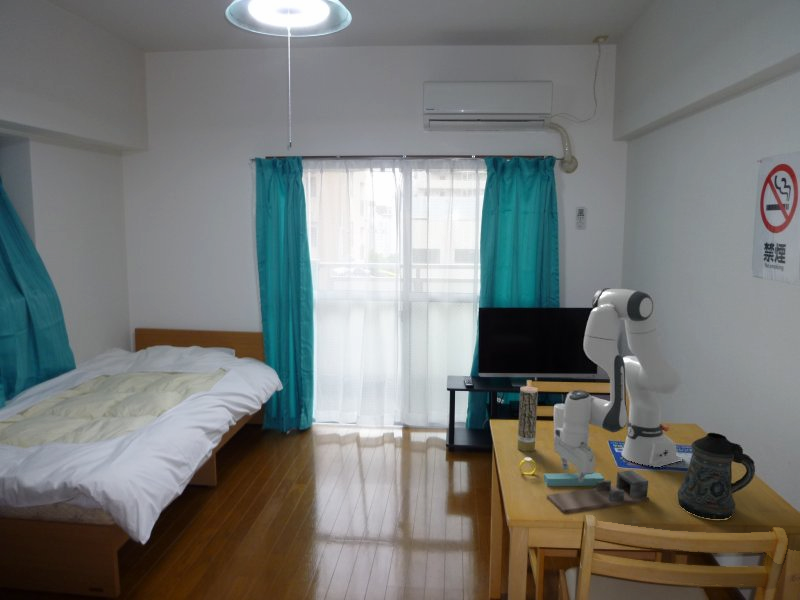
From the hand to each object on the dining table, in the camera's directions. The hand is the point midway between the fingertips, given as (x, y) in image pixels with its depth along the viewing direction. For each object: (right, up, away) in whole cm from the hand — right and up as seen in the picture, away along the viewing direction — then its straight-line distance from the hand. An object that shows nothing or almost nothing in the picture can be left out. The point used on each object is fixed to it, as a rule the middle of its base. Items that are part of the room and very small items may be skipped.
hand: (572, 474), depth 197 cm
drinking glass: (+6, +3, +37) cm, 38 cm away
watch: (-14, -2, +7) cm, 16 cm away
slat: (+1, -3, 0) cm, 3 cm away
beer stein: (+40, -6, -15) cm, 43 cm away
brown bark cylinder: (-10, +1, +28) cm, 30 cm away
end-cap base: (+5, -5, -11) cm, 13 cm away
